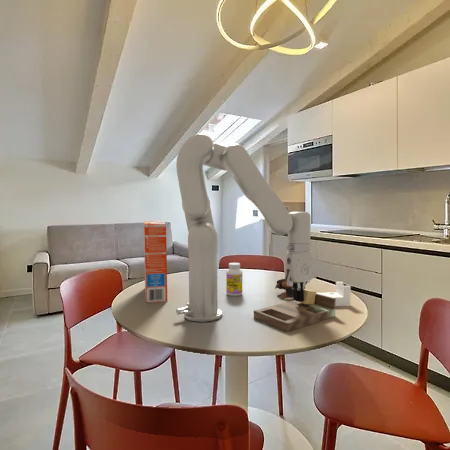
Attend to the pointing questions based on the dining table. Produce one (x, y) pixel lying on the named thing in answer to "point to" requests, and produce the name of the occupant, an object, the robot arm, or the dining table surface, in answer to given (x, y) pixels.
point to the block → (309, 297)
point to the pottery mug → (289, 291)
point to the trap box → (297, 313)
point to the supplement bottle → (234, 280)
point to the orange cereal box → (155, 261)
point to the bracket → (340, 294)
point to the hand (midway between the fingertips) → (298, 300)
